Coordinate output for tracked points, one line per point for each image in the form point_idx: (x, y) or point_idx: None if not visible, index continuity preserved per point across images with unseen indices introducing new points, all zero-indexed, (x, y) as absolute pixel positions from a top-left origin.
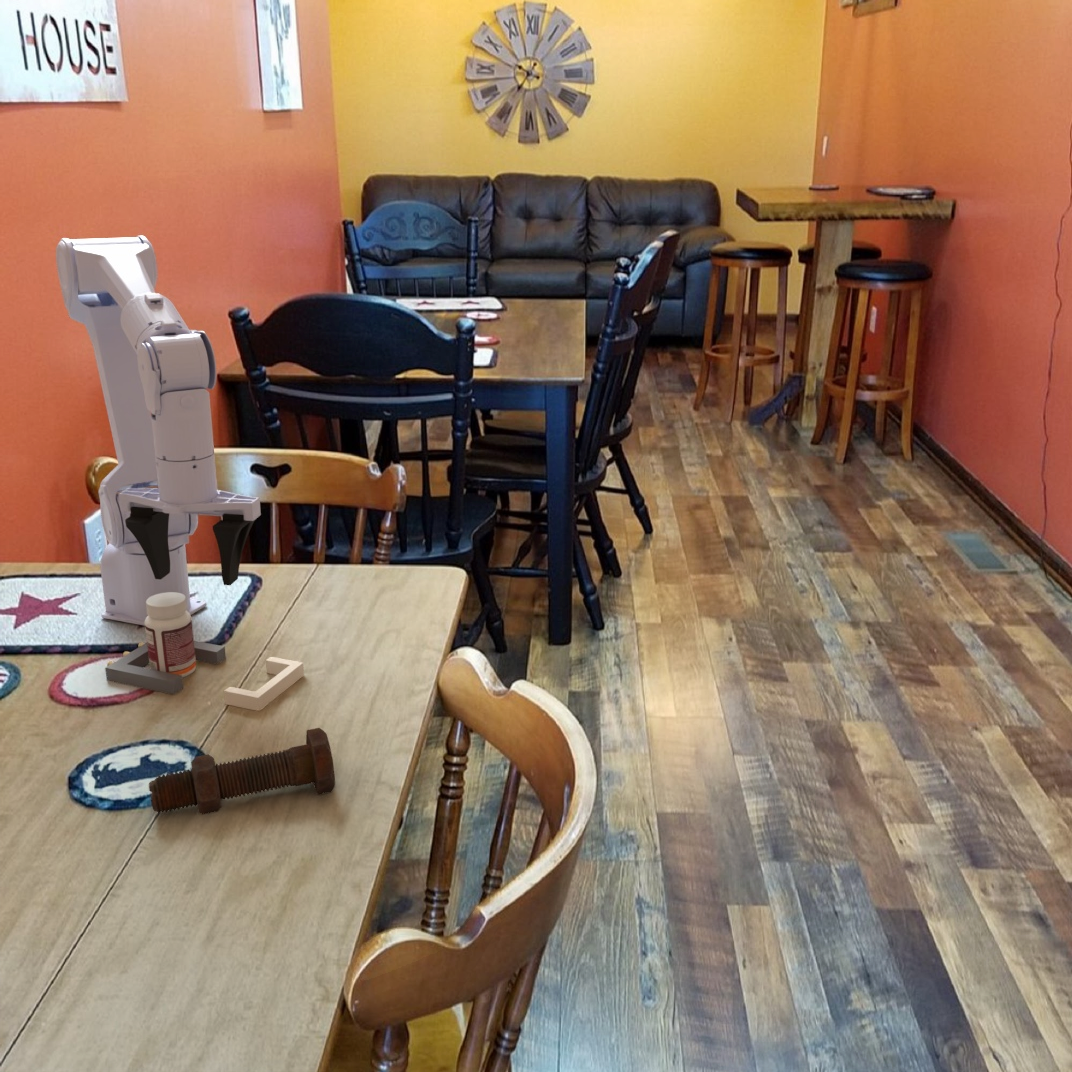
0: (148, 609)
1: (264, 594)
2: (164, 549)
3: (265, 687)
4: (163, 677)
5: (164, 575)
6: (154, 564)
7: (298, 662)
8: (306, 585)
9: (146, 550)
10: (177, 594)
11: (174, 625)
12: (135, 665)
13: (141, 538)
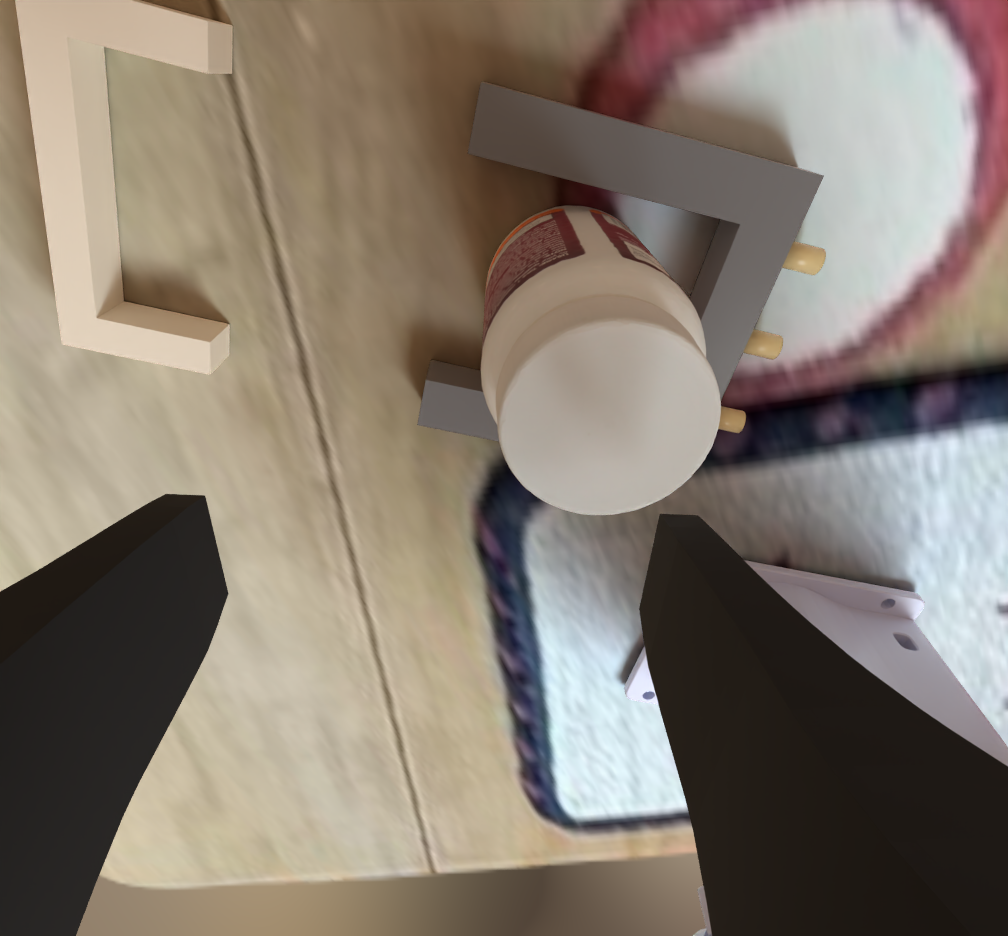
0: (683, 330)
1: (495, 754)
2: (692, 737)
3: (53, 93)
4: (539, 119)
5: (653, 561)
6: (719, 572)
7: (79, 342)
8: (411, 799)
9: (823, 657)
10: (568, 492)
11: (523, 295)
12: (711, 267)
13: (933, 764)
